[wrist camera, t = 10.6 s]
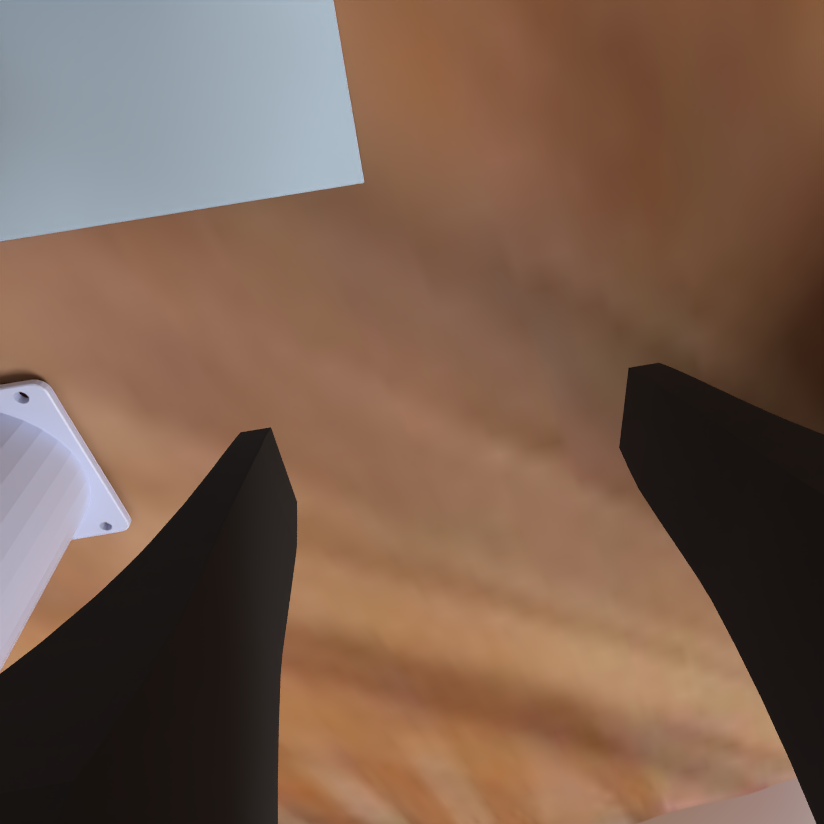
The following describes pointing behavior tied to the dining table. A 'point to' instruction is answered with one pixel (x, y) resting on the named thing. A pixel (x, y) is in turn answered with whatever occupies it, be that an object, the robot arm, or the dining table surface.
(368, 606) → the dining table surface
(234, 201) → the base
